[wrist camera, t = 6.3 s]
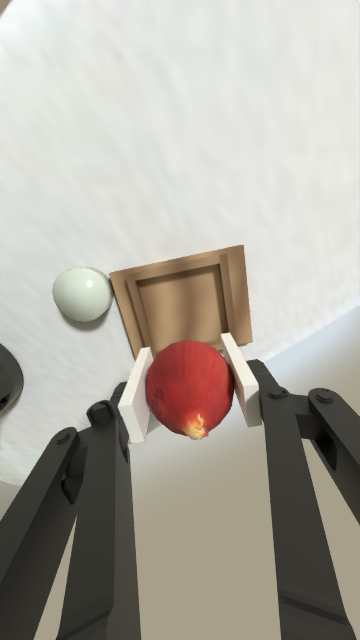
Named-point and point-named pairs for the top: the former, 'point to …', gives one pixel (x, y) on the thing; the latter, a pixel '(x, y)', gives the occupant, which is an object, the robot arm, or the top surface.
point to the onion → (190, 388)
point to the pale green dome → (83, 293)
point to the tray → (185, 300)
